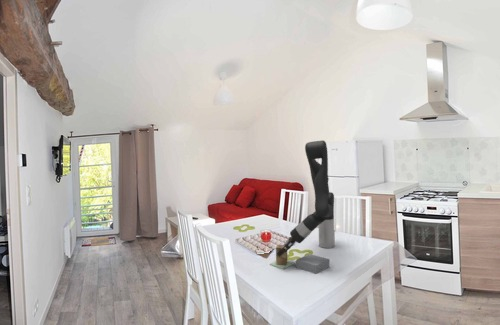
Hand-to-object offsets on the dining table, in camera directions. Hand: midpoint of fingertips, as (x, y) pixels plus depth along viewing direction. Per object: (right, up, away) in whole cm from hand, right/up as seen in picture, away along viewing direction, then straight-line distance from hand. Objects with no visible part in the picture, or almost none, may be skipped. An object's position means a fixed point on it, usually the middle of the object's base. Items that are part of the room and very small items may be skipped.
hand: (279, 252), depth 170 cm
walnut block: (+1, -6, 0) cm, 6 cm away
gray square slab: (+17, -6, -5) cm, 18 cm away
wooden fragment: (-7, -6, +23) cm, 24 cm away
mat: (+1, -6, 0) cm, 7 cm away
